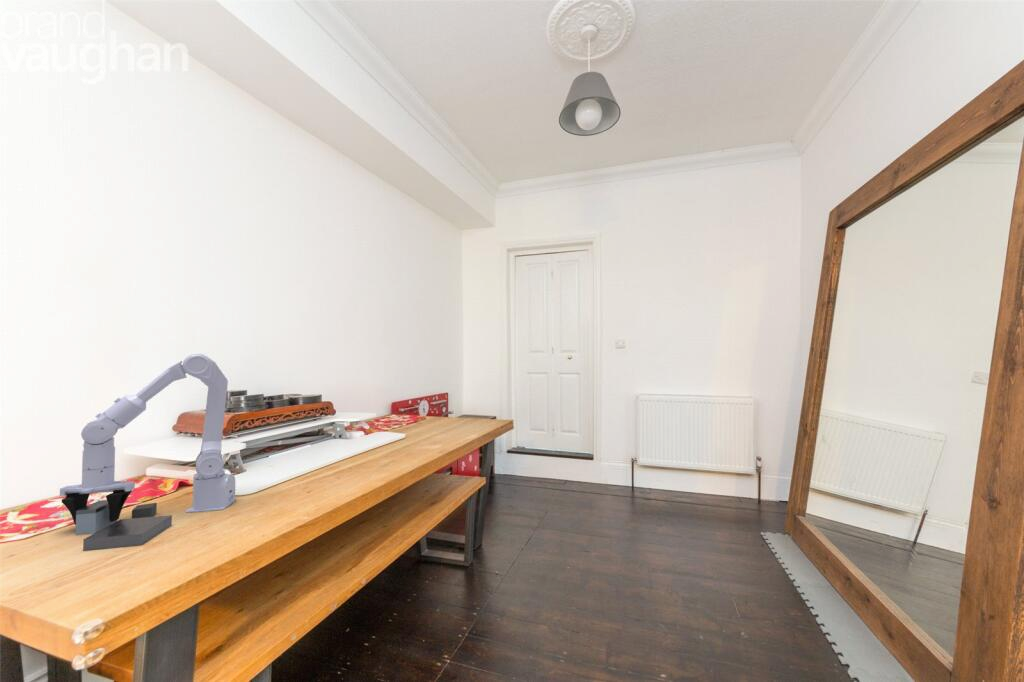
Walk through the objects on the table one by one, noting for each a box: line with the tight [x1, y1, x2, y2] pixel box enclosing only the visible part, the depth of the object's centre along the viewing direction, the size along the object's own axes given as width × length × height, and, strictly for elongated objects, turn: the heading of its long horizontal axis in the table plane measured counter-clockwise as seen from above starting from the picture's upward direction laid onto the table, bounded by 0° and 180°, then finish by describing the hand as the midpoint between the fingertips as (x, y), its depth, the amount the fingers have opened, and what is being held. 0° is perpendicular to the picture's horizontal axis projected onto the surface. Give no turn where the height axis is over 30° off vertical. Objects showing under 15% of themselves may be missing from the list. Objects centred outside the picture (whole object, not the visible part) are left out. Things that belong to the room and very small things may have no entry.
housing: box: [75, 499, 118, 536], centre depth 100 cm, size 4×7×6 cm, turn 13°
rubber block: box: [131, 502, 158, 519], centre depth 107 cm, size 4×4×3 cm
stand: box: [82, 514, 173, 552], centre depth 94 cm, size 11×11×2 cm
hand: (97, 521), depth 100 cm, fingers open, 7 cm apart
